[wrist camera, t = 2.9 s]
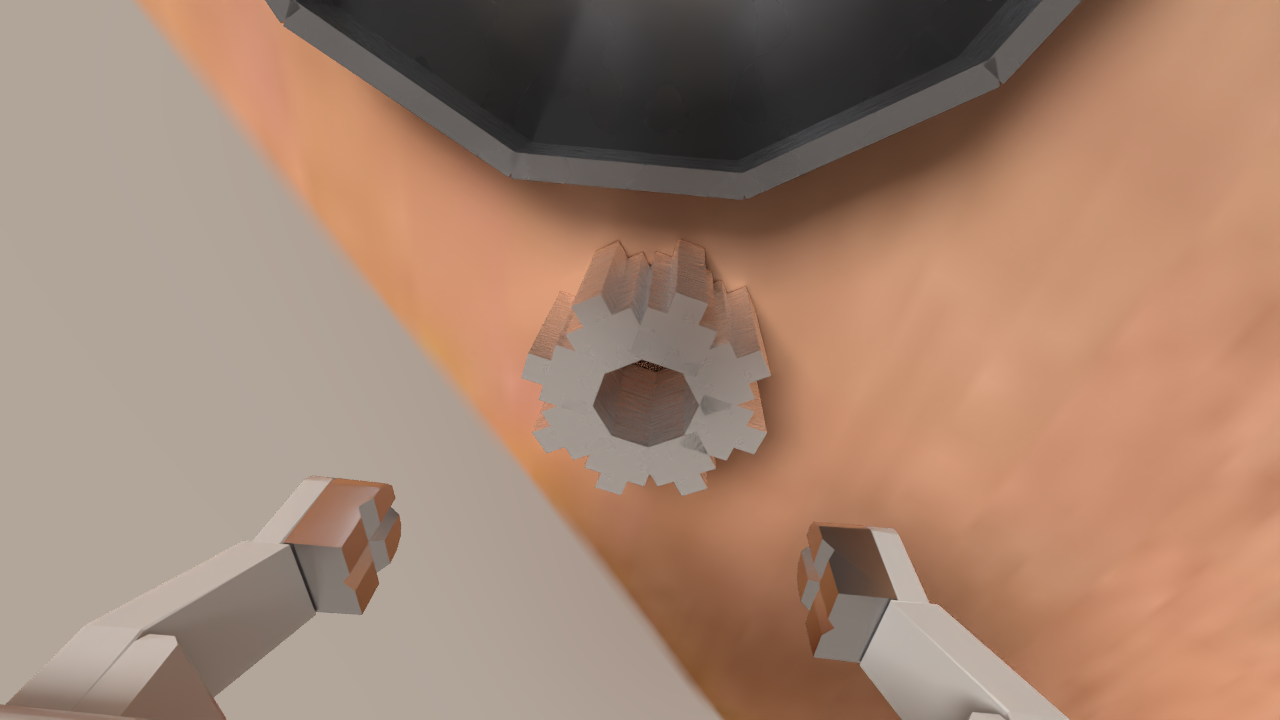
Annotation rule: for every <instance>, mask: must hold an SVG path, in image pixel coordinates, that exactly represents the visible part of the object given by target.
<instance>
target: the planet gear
mask: <svg viewBox="0 0 1280 720" xmlns="http://www.w3.org/2000/svg"><path fill="white" fill-rule="evenodd" d="M640 360H645V361H648V362H651V363H654V364H657V365H660V366H663V367H666V368H665V369H663V370H660V371H657V372H654V371H651V370H648V369H645V368H643V367H640V366H637V365H634V364H632V363H635V362H637V361H640ZM769 376H771V373H770V369H769V365H768V361H767V356H766V352H765V348H764V344H763V340H762V336H761V332H760V327H759V323H758V319H757V315H756V311H755V307H754V305H753V302H752V300H751V298H750V295H749V293H748V290H747V288H746V287H743V288H741V289H738V290H736V291H733V292H731V293H728V294H727V292H726V289H725V287H724V285H723V283H722V280H720V281H717V282H715V283H713V277H712V271H710V270H707V269H706V265H705V251H704V248H703V247H701V246H698V245H695V244H692V243H690V242H687V241H684V240H682V239H679V240H678V243H677V245H676V248H675V250H674V253H673V255H672V257H671V256H668V255H665V254H663V253H660V252H657V251H656V253H655V256H654V258H653V261H652V264H651V266H650V265H649V263H648V261H647V259H646V257H645V255H644V253H643V252H641V253H638V254H636V255H634V256H632V257H629V258H628V257H627V255H626V253H625V251H624V249H623V247H622V245H621V243H620V241H617V242H615V243H613V244H610V245H608V246H606V247H604V248H602V249H599V250H597V251H596V252H595V254H594V256H593V258H592V261H591V263H590V265H589V267H588V270H587V272H586V274H585V277H584V279H583V281H582V283H581V286H580V288H579V290H578V292H577V295H576V296H573V295H571V294H568V293H565V292H562V291H560V292H559V294H558V296H557V298H556V300H555V302H554V304H553V306H552V308H551V310H550V312H549V314H548V316H547V318H546V320H545V321H544V323H543V325H542V327H541V329H540V331H539V333H538V335H537V337H536V339H535V341H534V343H533V345H532V347H531V349H530V351H529V353H528V356H527V359H526V363H525V367H524V370H523V374H522V377H521V378H523V379H526V380H529V381H532V382H535V383H538V384H541V385H543V388H542V391H541V395H540V398H539V400H541V401H544V404H543V406H542V409H541V411H540V414H539V416H538V419H537V421H536V424H535V426H534V429H533V431H532V433H533V435H534V436H535V438H536V439H537V440H538V442H539V443H540V445H541V446H542V447H543V449H544V450H545V452H546V453H549V452H552V451H555V450H558V449H561V448H564V447H565V448H566V450H567V451H568V453H569V454H570V455H571V457H572V458H573V460H575V459H578V458H581V457H584V456H587V455H588V456H587V460H586V464H585V468H587V469H590V470H593V471H597V472H598V476H597V481H596V485H595V487H596V488H599V489H602V490H605V491H609V492H612V493H615V494H618V495H621V494H622V492H623V490H624V488H625V485H626V483H627V481H628V482H632V483H635V484H638V485H641V486H644V485H645V483H646V481H647V478H648V476H649V474H650V475H651V476H652V478H653V480H654V481H655V483H656V485H657V486H661V485H664V484H667V483H671V482H674V483H675V485H676V487H677V489H678V490H679V492H680V494H681V495H682V496H684V495H687V494H691V493H694V492H697V491H701V490H704V489H707V471H710V470H713V469H716V462H715V457H716V458H719V459H722V460H725V461H727V459H728V457H729V455H730V454H731V452H732V450H733V448H736V449H739V450H742V451H745V452H748V453H751V454H755V452H756V451H757V449H758V447H759V446H760V444H761V442H762V441H763V439H764V437H765V436H766V434H767V430H766V425H765V420H764V415H763V409H762V404H761V399H760V394H759V389H758V384H757V381H758V380H761V379H764V378H766V377H769Z"/></svg>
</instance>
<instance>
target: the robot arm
mask: <svg viewBox="0 0 1280 720" xmlns="http://www.w3.org/2000/svg"><path fill="white" fill-rule="evenodd" d="M394 500H395V495H394V491H393V488H392V486H391V485H389V484H385V483H376V482H368V481H359V480H349V479H342V478H329V477H320V476H310V477H308V478H306V479H304V480H303V481H302V482H301V483H300V484H299V486H298V487H297V488H296V489H295V490H294V492H293V493H292V494H291V495H290V496H289V497H288V499H287V500H286V501H285V502H284V503H283V505H282V506H281V507H280V508H279V509H278V511H277V512H276V513H275V514H274V515H273V517H272V518H271V519H270V520H269V521H268V522H267V524H266V525H265V526H264V528H263V529H262V530H261V531H260V532H259V533H258V534H257V535H256V537H255V538H254V539H253V540H252V541H246V540H244V541H242V542H240V543H238V544H236V545H234V546H232V547H231V548H229V549H227V550H225V551H223V552H221V553H219V554H217V555H216V556H214V557H212V558H210V559H208V560H206V561H204V562H202V563H201V564H199V565H197V566H195V567H193V568H191V569H189V570H187V571H185V572H184V573H182V574H180V575H178V576H176V577H174V578H172V579H170V580H169V581H167V582H165V583H163V584H161V585H159V586H157V587H156V588H154V589H152V590H150V591H148V592H146V593H144V594H142V595H140V596H139V597H137V598H135V599H133V600H131V601H129V602H127V603H125V604H124V605H122V606H120V607H118V608H116V609H114V610H112V611H111V612H109V613H107V614H105V615H103V616H101V617H99V618H97V619H95V620H94V621H92V622H90V623H88V624H86V625H85V626H84V627H83V628H82V629H81V630H80V631H79V632H78V633H77V634H76V635H75V636H74V637H73V638H72V639H71V640H70V641H69V642H68V643H67V644H66V645H65V646H64V647H63V648H62V649H61V650H60V651H59V652H58V653H57V654H56V655H55V656H54V657H53V658H52V659H51V660H50V661H49V662H48V663H47V664H46V665H45V666H44V667H43V668H42V669H41V670H40V671H39V672H38V673H37V674H36V675H35V676H34V677H33V678H32V679H31V680H30V681H29V682H28V683H27V684H26V685H25V686H24V687H23V688H22V689H21V690H20V691H19V692H18V693H17V694H16V695H15V696H14V697H13V698H12V699H11V700H10V701H9V702H8V703H7V704H6V705H0V720H226V717H225V716H224V714H223V712H222V711H221V709H220V708H219V706H218V704H217V703H216V701H215V700H214V697H215V696H216V695H217V694H218V693H220V692H221V691H222V690H223V689H224V688H226V687H227V686H228V685H230V684H231V683H232V682H233V681H235V680H236V679H237V678H238V677H240V676H241V675H242V674H243V673H244V672H245V671H247V670H248V669H249V668H251V667H252V666H253V665H254V664H256V663H257V662H258V661H259V660H260V659H262V658H263V657H264V656H265V655H267V654H268V653H269V652H270V651H272V650H273V649H274V648H275V647H277V646H278V645H279V644H280V643H281V642H283V641H284V640H285V639H286V638H288V637H289V636H290V635H291V634H293V633H294V632H295V631H296V630H297V629H299V628H300V627H301V626H302V625H304V624H305V623H306V622H307V621H309V620H310V619H311V618H312V617H313V616H315V615H316V612H327V613H342V614H358V615H362V614H363V612H364V610H365V609H366V607H367V605H368V603H369V601H370V599H371V598H372V596H373V594H374V592H375V590H376V588H377V586H378V585H379V581H378V577H377V572H378V571H380V570H381V569H383V568H384V567H385V566H387V565H388V564H390V562H391V561H392V559H393V557H394V555H395V553H396V551H397V547H398V543H399V540H400V536H401V522H400V517H399V514H398V513H397V512H395V510H394V509H392V508H391V505H392V503H393V501H394ZM807 539H808V543H809V547H807V548H806V549H804V550H803V551H802V552H801V555H800V559H799V563H798V574H797V580H798V590H799V595H800V600H801V602H802V603H803V604H804V605H805V607H806V608H807V609H808V610H809V611H810V612H809V615H808V618H807V621H806V627H807V632H808V636H809V641H810V645H811V649H812V654H813V657H815V658H824V659H832V660H840V661H848V662H856V663H860V667H861V668H862V669H863V670H864V672H865V673H866V674H867V676H868V677H869V678H870V679H871V681H872V682H873V683H874V685H875V686H876V687H877V689H878V690H879V691H880V692H881V694H882V695H883V696H884V698H885V699H886V700H887V701H888V703H889V704H890V705H891V707H892V708H893V709H894V711H895V712H896V713H897V714H898V716H899V717H900V718H901V720H1070V719H1068V718H1067V717H1066V716H1065V715H1064V714H1063V713H1062V712H1060V711H1059V710H1058V709H1057V708H1056V707H1055V706H1054V705H1052V704H1051V703H1050V702H1049V701H1048V700H1047V699H1046V698H1044V697H1043V696H1042V695H1041V694H1040V693H1039V692H1038V691H1036V690H1035V689H1034V688H1033V687H1032V686H1031V685H1030V684H1028V683H1027V682H1026V681H1025V680H1024V679H1023V678H1022V677H1020V676H1019V675H1018V674H1017V673H1016V672H1015V671H1014V670H1012V669H1011V668H1010V667H1009V666H1008V665H1007V664H1006V663H1004V662H1003V661H1002V660H1001V659H1000V658H999V657H998V656H996V655H995V654H994V653H993V652H992V651H991V650H990V649H988V648H987V647H986V646H985V645H984V644H983V643H982V642H980V641H979V640H978V639H977V638H976V637H975V636H974V635H972V634H971V633H970V632H969V631H968V630H967V629H966V628H964V627H963V626H962V625H961V624H960V623H959V622H958V621H956V620H955V619H954V618H953V617H952V616H951V615H950V614H948V613H947V612H946V611H945V610H944V609H943V608H942V607H940V606H939V605H938V604H930V603H929V600H928V598H927V596H926V594H925V592H924V589H923V587H922V585H921V583H920V581H919V578H918V576H917V574H916V572H915V570H914V567H913V565H912V563H911V561H910V559H909V556H908V554H907V552H906V550H905V548H904V545H903V543H902V541H901V539H900V537H899V534H898V532H896V531H895V530H894V529H893V528H883V527H871V526H866V527H865V526H860V525H847V524H835V523H822V522H813V523H812V524H811V526H810V527H809V530H808V533H807Z"/></svg>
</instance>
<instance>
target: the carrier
mask: <svg viewBox="0 0 1280 720" xmlns="http://www.w3.org/2000/svg"><path fill="white" fill-rule="evenodd" d="M265 1H266V2H267V4H268V5H269V7H270V8H271V10H272V11H273V13H274V14H275V15H276V17H277V18H278V20H279V21H280V23H284V27H286V28H287V29H289V30H290V31H292V32H293V33H295V34H296V35H298V36H299V37H301V38H302V39H304V40H305V41H307V42H308V43H310V44H311V45H313V46H314V47H316V48H317V49H319V50H320V51H321V52H323V53H324V54H326V55H327V56H329V57H330V58H332V59H333V60H335V61H336V62H338V63H339V64H341V65H342V66H344V67H345V68H347V69H348V70H350V71H351V72H353V73H354V74H356V75H357V76H359V77H360V78H362V79H363V80H365V81H366V82H368V83H369V84H370V85H372V86H373V87H375V88H376V89H378V90H379V91H381V92H382V93H384V94H385V95H387V96H388V97H390V98H391V99H393V100H394V101H396V102H397V103H399V104H400V105H402V106H403V107H405V108H406V109H408V110H409V111H411V112H412V113H414V114H415V115H417V116H418V117H419V118H421V119H422V120H424V121H425V122H427V123H428V124H430V125H431V126H433V127H434V128H436V129H437V130H439V131H440V132H442V133H443V134H445V135H446V136H448V137H449V138H451V139H452V140H454V141H455V142H457V143H458V144H460V145H461V146H463V147H464V148H466V149H467V150H468V151H470V152H471V153H473V154H474V155H476V156H477V157H479V158H480V159H482V160H483V161H485V162H486V163H488V164H489V165H491V166H492V167H494V168H495V169H497V170H498V171H500V172H501V173H503V174H504V175H506V176H507V177H510V176H512V179H520V180H531V181H542V182H553V183H563V184H574V185H585V186H596V187H607V188H617V189H628V190H639V191H650V192H661V193H672V194H682V195H693V196H704V197H715V198H726V199H736V200H743V198H744V195H745V198H746V200H747V199H749V198H751V197H753V196H756V195H758V194H760V193H762V192H765V191H767V190H769V189H771V188H774V187H776V186H778V185H780V184H783V183H785V182H787V181H789V180H792V179H794V178H796V177H798V176H801V175H803V174H805V173H807V172H809V171H812V170H814V169H816V168H818V167H821V166H823V165H825V164H827V163H830V162H832V161H834V160H836V159H839V158H841V157H843V156H845V155H848V154H850V153H852V152H854V151H857V150H859V149H861V148H863V147H866V146H868V145H870V144H872V143H875V142H877V141H879V140H881V139H884V138H886V137H888V136H890V135H893V134H895V133H897V132H899V131H902V130H904V129H906V128H908V127H911V126H913V125H915V124H917V123H920V122H922V121H924V120H926V119H929V118H931V117H933V116H935V115H938V114H940V113H942V112H944V111H947V110H949V109H951V108H953V107H956V106H958V105H960V104H962V103H965V102H967V101H969V100H971V99H974V98H976V97H978V96H980V95H983V94H985V93H987V92H989V91H992V90H994V89H996V88H998V87H1000V84H1004V83H1005V82H1006V81H1007V80H1008V79H1009V78H1010V77H1011V76H1012V75H1013V74H1014V72H1015V71H1016V70H1017V69H1018V68H1019V67H1020V66H1021V65H1022V64H1023V63H1024V62H1025V61H1026V60H1027V59H1028V57H1029V56H1030V55H1031V54H1032V53H1033V52H1034V51H1035V50H1036V49H1037V48H1038V47H1039V46H1040V45H1041V44H1042V42H1043V41H1044V40H1045V39H1046V38H1047V37H1048V36H1049V35H1050V34H1051V33H1052V32H1053V31H1054V30H1055V29H1056V28H1057V26H1058V25H1059V24H1060V23H1061V22H1062V21H1063V20H1064V19H1065V18H1066V17H1067V16H1068V15H1069V14H1070V13H1071V11H1072V10H1073V9H1074V8H1075V7H1076V6H1077V5H1078V4H1079V3H1080V2H1081V1H1082V0H265Z"/></svg>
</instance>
